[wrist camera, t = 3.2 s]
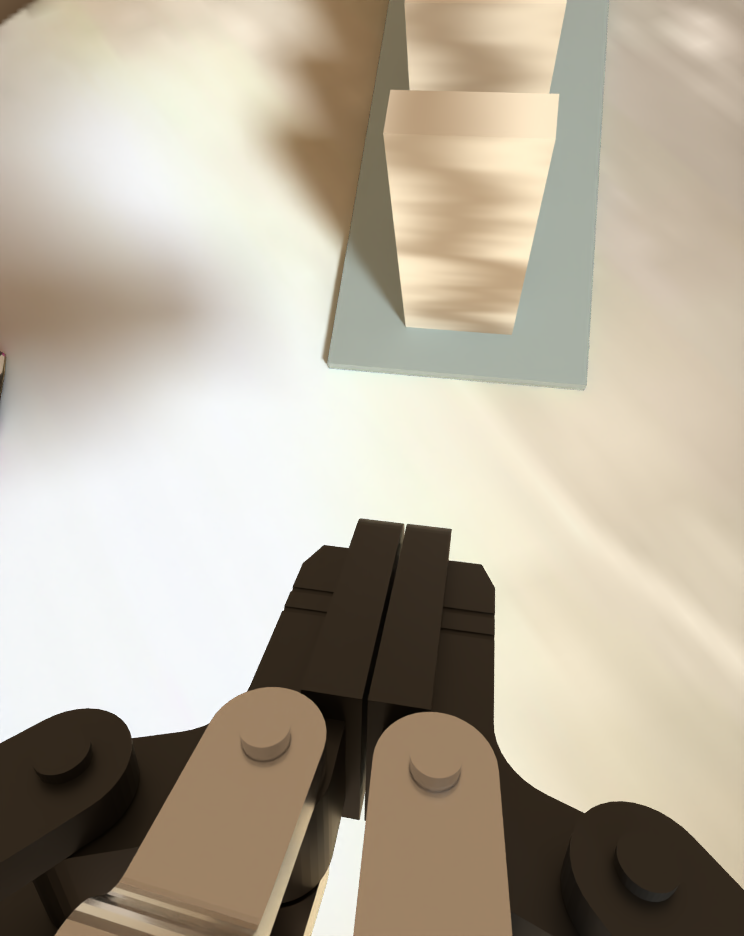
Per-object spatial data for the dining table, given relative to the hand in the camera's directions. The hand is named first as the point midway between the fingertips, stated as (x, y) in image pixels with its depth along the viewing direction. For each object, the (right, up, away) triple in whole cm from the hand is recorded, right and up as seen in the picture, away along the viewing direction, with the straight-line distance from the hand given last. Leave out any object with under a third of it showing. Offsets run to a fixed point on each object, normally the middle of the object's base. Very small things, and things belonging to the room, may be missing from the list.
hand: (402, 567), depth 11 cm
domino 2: (+4, +9, +20) cm, 22 cm away
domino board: (+5, +18, +23) cm, 30 cm away
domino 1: (+4, +14, +21) cm, 25 cm away
